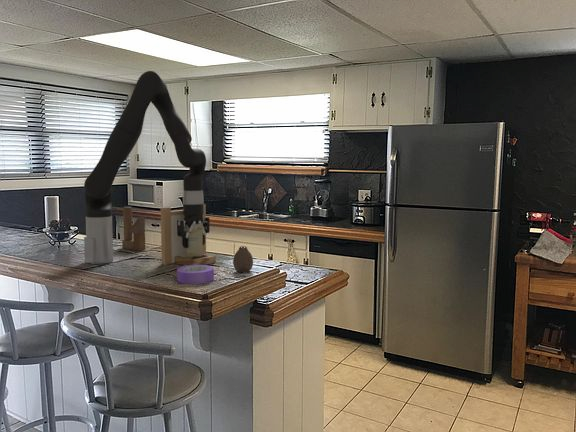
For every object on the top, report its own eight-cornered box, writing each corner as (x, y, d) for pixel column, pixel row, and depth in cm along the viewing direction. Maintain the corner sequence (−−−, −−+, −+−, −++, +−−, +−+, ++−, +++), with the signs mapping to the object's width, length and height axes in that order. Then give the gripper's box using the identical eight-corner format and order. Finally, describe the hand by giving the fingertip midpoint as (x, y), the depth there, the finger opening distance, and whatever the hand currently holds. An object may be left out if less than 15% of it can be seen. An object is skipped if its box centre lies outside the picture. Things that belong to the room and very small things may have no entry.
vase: (243, 268, 177) (242, 244, 176) (257, 271, 173) (257, 246, 172) (228, 271, 172) (228, 246, 171) (243, 275, 167) (243, 249, 166)
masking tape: (186, 286, 153) (186, 274, 152) (171, 278, 162) (171, 267, 161) (220, 281, 159) (220, 269, 159) (203, 274, 169) (203, 263, 168)
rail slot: (193, 267, 179) (193, 260, 178) (174, 262, 186) (174, 256, 185) (215, 262, 187) (215, 256, 187) (196, 258, 194) (196, 252, 193)
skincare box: (186, 257, 184) (185, 224, 182) (185, 254, 188) (184, 222, 186) (203, 256, 185) (202, 224, 184) (202, 254, 189) (201, 222, 188)
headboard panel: (165, 264, 182) (164, 207, 180) (161, 263, 184) (160, 207, 181) (206, 256, 198) (206, 204, 195) (202, 256, 199) (201, 204, 197)
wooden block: (139, 250, 209) (138, 208, 207) (122, 248, 215) (120, 207, 213) (145, 249, 212) (144, 207, 210) (128, 247, 218) (127, 206, 216)
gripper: (201, 200, 192) (201, 242, 194) (171, 203, 181) (172, 247, 183) (214, 202, 187) (214, 244, 189) (184, 204, 176) (185, 250, 178)
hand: (194, 246), depth 186 cm, fingers closed on skincare box, 7 cm apart
